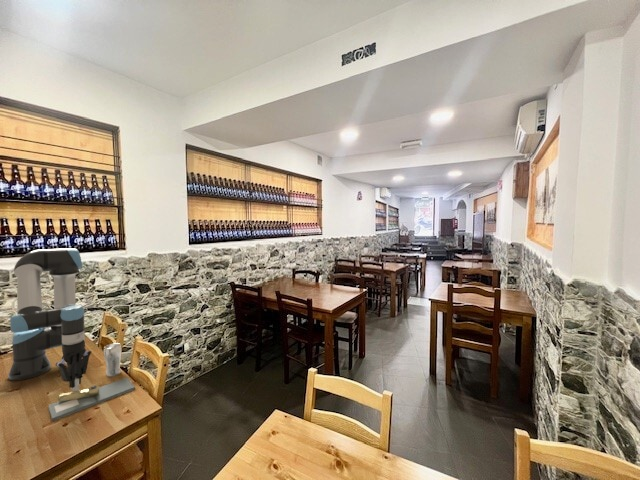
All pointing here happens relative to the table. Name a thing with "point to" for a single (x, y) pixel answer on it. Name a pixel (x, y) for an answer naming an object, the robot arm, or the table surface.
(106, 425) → the table surface
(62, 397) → the latch bar
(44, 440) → the table surface
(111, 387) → the door board
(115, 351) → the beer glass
